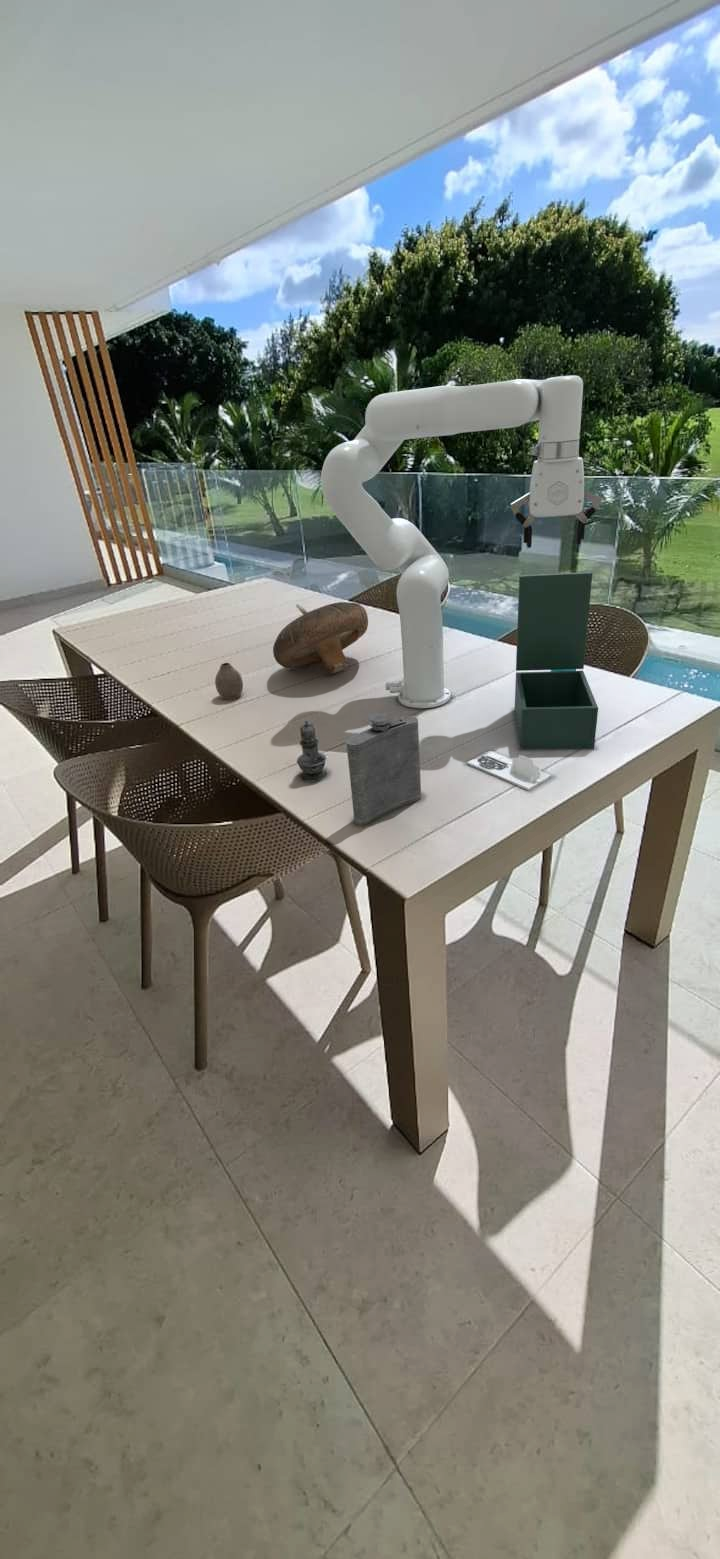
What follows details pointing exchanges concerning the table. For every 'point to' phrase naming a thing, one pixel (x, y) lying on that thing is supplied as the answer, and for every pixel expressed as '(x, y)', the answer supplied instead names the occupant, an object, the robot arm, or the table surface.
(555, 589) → the box lid
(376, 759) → the flask
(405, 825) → the table surface
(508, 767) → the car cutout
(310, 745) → the salt shaker
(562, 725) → the green lidded box
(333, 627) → the mushroom
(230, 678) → the vase
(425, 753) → the table surface
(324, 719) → the table surface
